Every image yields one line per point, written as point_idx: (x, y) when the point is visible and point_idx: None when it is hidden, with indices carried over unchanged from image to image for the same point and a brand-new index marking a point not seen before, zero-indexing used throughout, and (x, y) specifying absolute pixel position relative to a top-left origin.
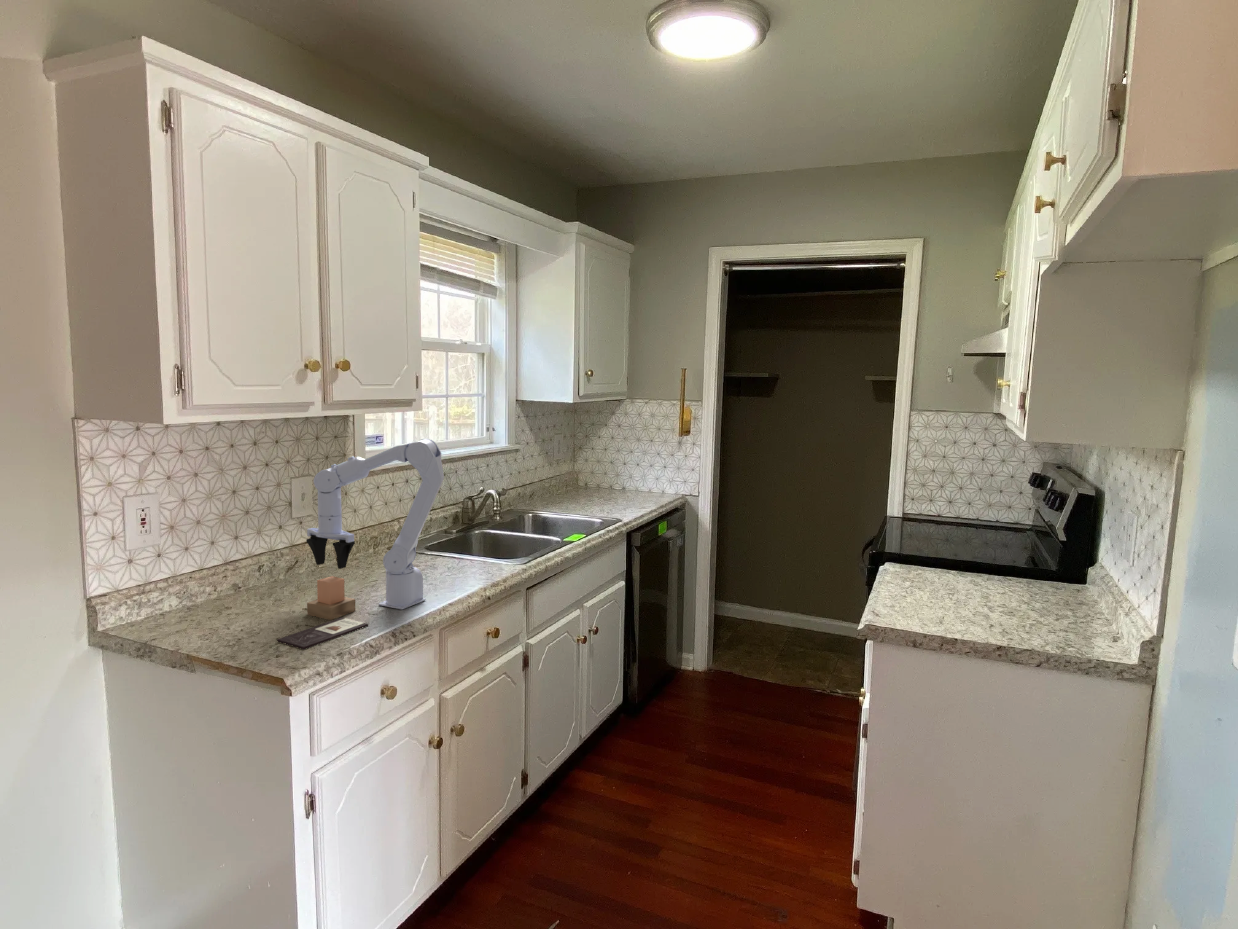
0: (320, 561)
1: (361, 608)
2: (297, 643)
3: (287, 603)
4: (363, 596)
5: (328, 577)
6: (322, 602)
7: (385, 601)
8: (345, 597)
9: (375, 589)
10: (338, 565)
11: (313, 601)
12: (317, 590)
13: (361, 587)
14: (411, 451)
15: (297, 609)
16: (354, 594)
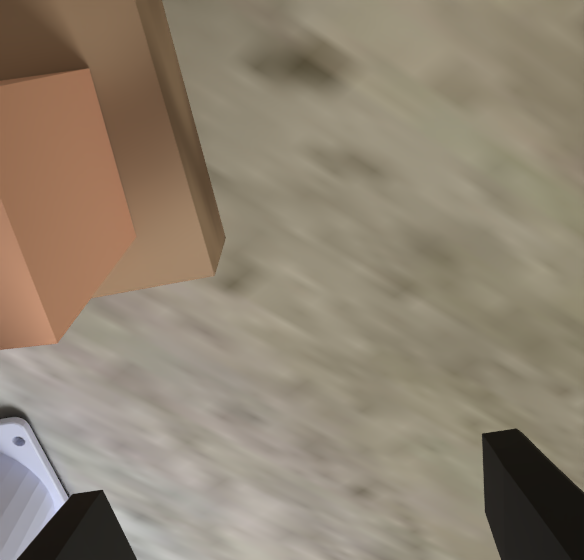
0: (498, 500)
1: None
2: None
3: (566, 46)
4: (261, 452)
5: (15, 282)
6: (16, 78)
7: (29, 462)
8: None
9: (326, 544)
10: (56, 527)
11: (125, 44)
12: (35, 78)
13: (422, 524)
14: None
15: (355, 8)
16: (339, 443)
